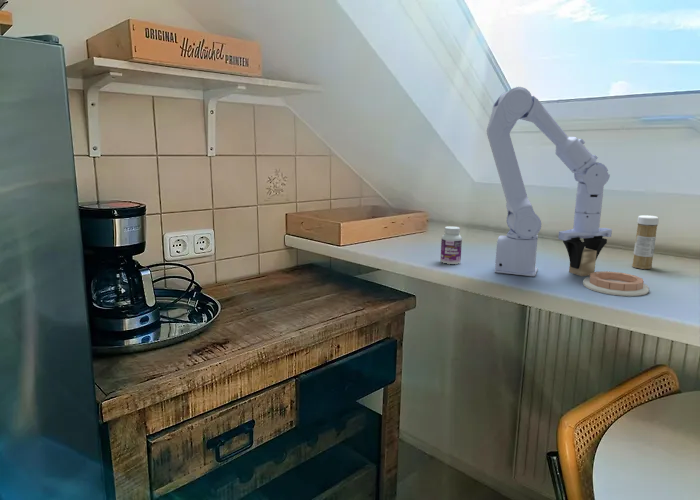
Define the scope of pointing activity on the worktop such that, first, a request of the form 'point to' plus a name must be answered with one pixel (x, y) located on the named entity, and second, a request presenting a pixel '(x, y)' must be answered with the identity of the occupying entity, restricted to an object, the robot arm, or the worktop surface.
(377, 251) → the worktop surface
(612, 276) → the collar dish
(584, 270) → the beige wooden block
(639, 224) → the sprinkles bottle
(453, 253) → the pill bottle
